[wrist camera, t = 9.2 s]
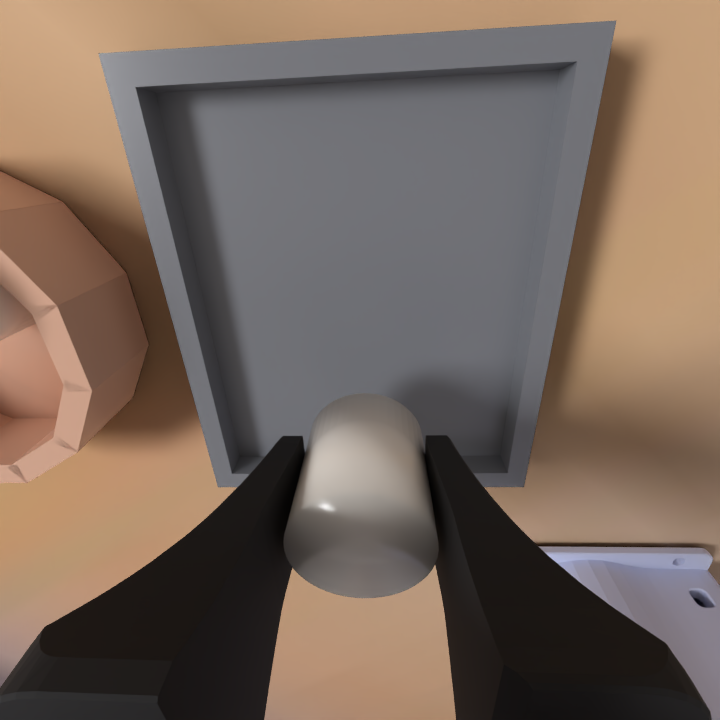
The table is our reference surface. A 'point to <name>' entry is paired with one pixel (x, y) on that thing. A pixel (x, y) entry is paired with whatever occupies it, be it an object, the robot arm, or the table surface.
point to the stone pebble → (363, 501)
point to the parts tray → (365, 225)
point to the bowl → (60, 334)
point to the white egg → (12, 315)
